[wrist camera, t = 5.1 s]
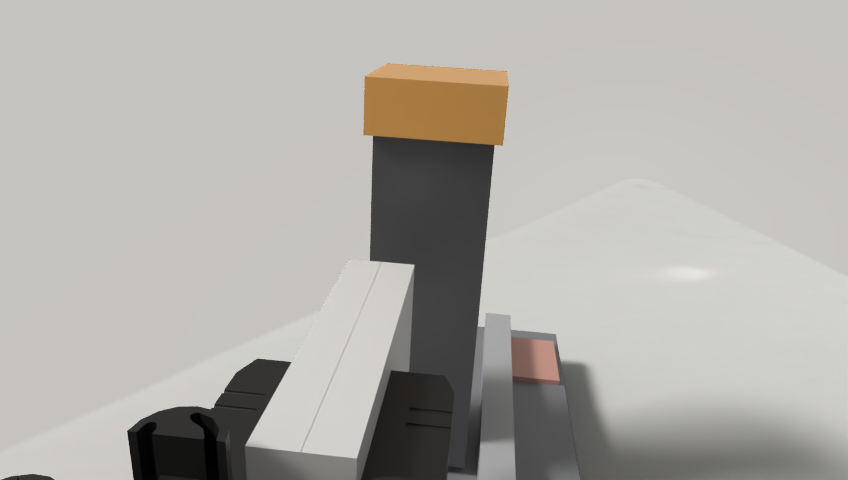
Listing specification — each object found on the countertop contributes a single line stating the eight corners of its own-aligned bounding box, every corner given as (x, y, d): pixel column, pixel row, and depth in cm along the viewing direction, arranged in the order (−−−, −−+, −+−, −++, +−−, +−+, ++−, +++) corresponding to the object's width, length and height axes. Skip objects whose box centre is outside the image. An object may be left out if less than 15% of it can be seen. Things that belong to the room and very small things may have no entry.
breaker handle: (474, 405, 22) (506, 71, 18) (470, 473, 19) (508, 86, 15) (377, 395, 22) (388, 63, 18) (357, 460, 19) (364, 76, 15)
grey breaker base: (551, 364, 28) (559, 309, 27) (608, 768, 13) (630, 678, 12) (329, 341, 29) (329, 287, 28) (150, 697, 14) (138, 608, 13)
